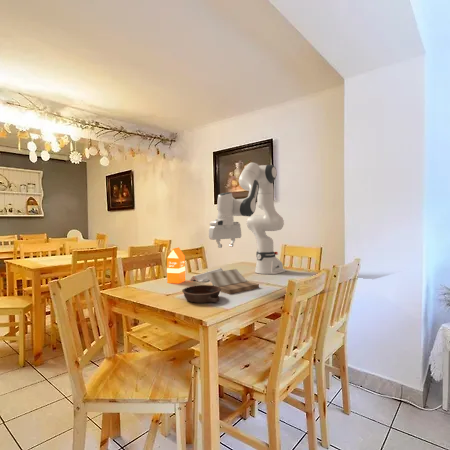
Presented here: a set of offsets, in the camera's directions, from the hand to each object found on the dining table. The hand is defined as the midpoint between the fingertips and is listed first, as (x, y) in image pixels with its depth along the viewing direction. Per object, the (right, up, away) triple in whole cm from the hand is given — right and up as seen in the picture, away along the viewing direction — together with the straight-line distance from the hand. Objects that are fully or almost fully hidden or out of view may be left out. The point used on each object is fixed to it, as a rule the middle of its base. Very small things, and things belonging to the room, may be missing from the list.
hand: (225, 247), depth 162 cm
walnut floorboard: (+7, -21, -8) cm, 24 cm away
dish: (-11, -23, -26) cm, 36 cm away
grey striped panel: (+1, -18, 0) cm, 18 cm away
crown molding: (-9, -22, +26) cm, 35 cm away
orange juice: (-29, -22, +13) cm, 39 cm away
